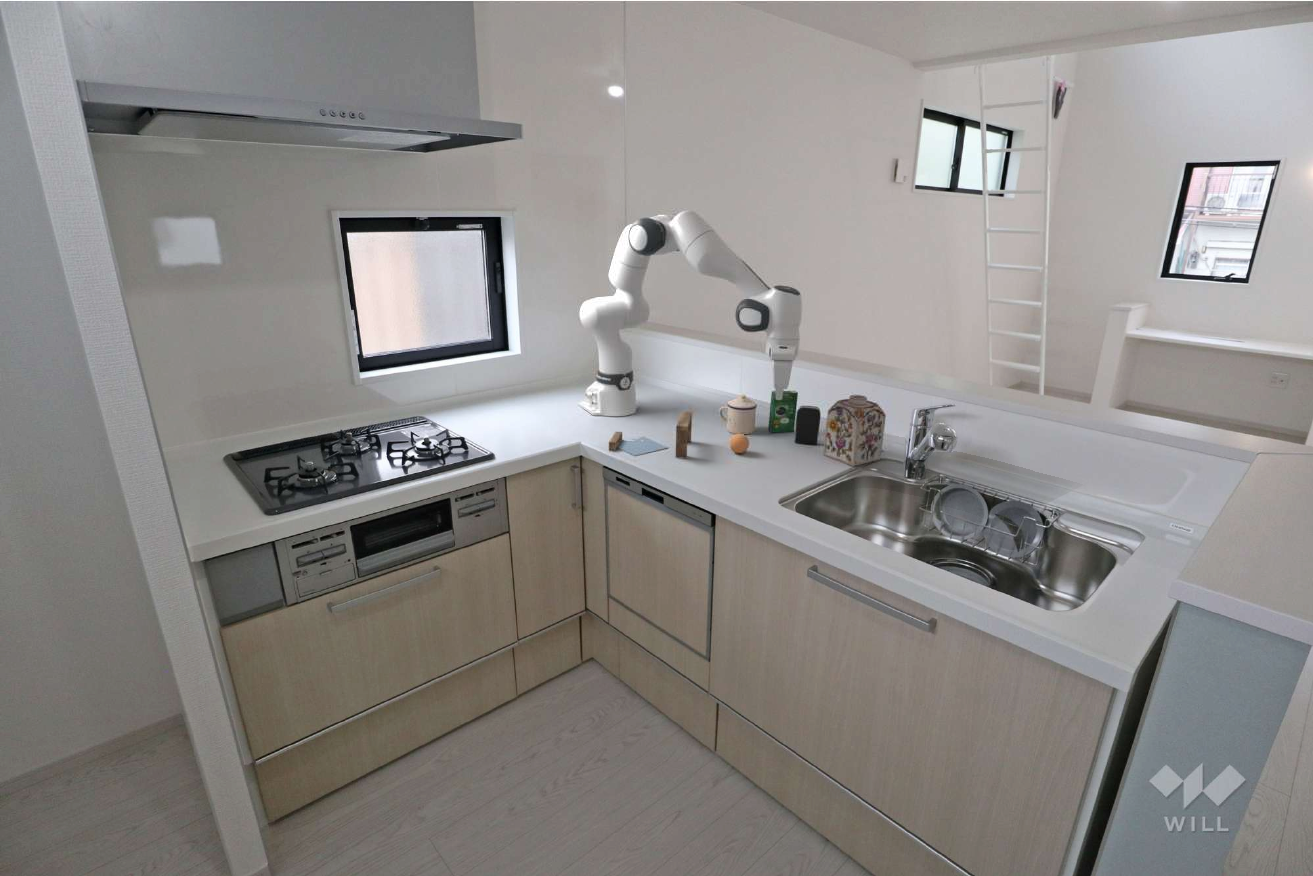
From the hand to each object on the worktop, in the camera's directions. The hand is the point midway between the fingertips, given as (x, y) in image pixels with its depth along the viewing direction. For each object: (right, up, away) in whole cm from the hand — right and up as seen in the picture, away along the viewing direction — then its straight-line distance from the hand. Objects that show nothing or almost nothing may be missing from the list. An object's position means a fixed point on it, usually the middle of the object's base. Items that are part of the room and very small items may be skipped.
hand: (778, 397), depth 187 cm
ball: (-10, -13, +6) cm, 17 cm away
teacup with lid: (-9, -9, +27) cm, 30 cm away
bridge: (-26, -15, +9) cm, 31 cm away
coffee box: (+6, -9, +26) cm, 29 cm away
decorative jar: (+22, -17, +5) cm, 28 cm away
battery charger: (+11, -13, +16) cm, 24 cm away
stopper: (-46, -13, +11) cm, 49 cm away
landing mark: (-39, -14, +11) cm, 43 cm away
